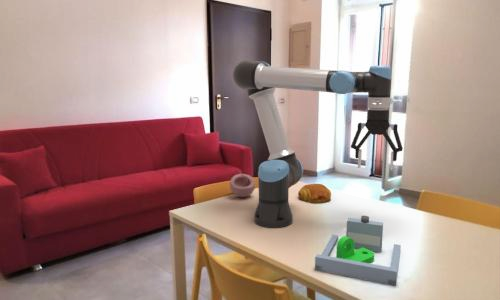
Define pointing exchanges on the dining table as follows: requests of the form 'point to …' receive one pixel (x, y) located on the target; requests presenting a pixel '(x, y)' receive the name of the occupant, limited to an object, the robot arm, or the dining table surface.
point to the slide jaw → (365, 233)
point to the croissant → (315, 193)
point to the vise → (358, 265)
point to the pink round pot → (242, 185)
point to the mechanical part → (353, 251)
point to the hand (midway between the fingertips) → (375, 168)
